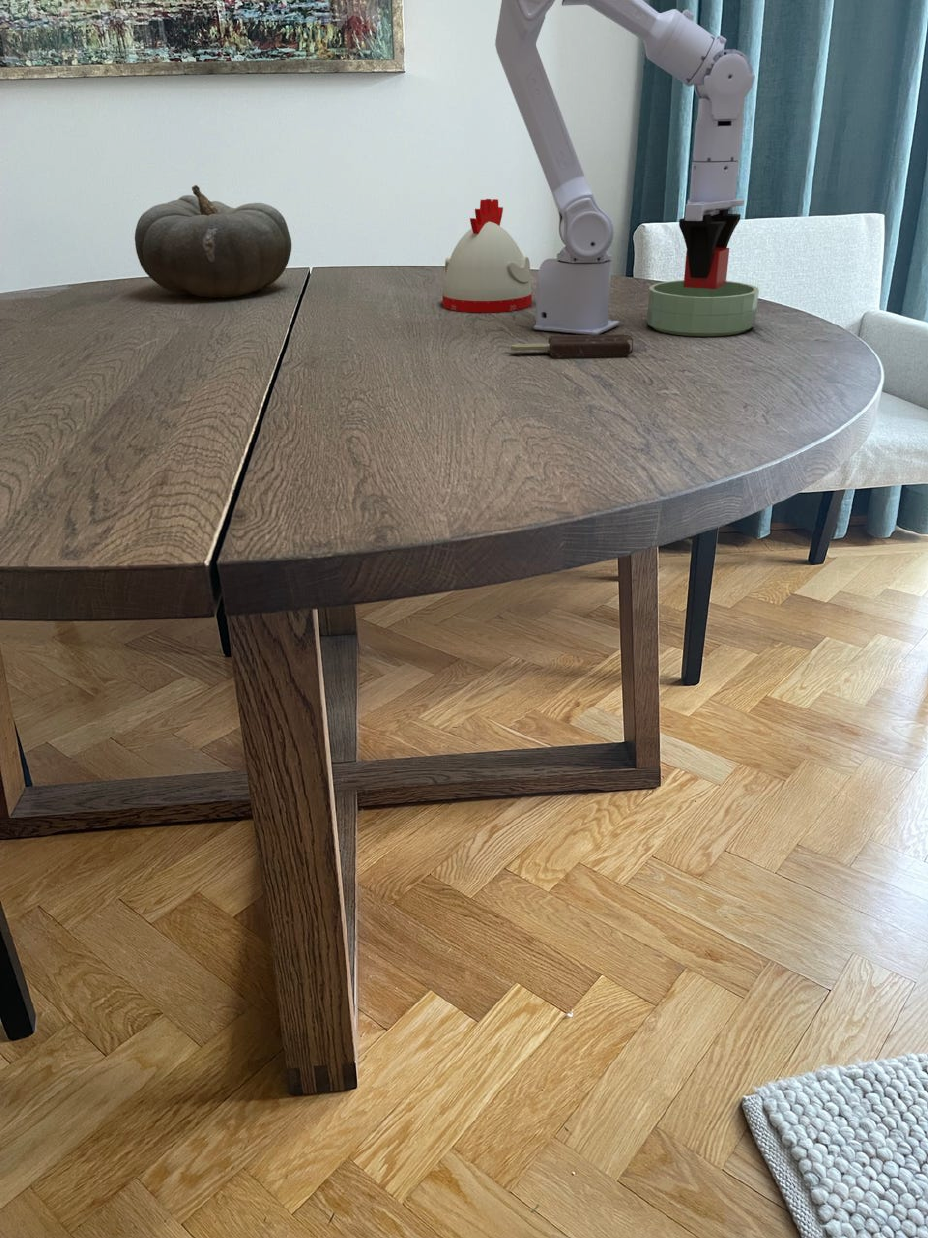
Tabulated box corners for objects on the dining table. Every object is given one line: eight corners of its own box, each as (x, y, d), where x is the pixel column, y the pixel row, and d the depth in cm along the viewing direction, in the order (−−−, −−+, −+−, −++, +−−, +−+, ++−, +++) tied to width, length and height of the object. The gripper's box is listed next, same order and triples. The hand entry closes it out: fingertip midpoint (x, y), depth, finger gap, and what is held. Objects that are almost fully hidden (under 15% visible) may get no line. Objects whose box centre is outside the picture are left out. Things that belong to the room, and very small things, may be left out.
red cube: (683, 287, 124) (686, 250, 121) (693, 282, 127) (697, 246, 125) (715, 289, 122) (719, 251, 119) (725, 284, 125) (729, 247, 123)
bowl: (631, 331, 125) (633, 292, 122) (667, 313, 135) (670, 277, 133) (736, 341, 118) (741, 300, 116) (765, 321, 129) (770, 283, 127)
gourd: (177, 264, 173) (172, 162, 163) (307, 287, 172) (310, 187, 162) (116, 302, 153) (106, 189, 143) (262, 329, 151) (263, 217, 141)
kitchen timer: (547, 300, 147) (549, 196, 140) (503, 315, 137) (503, 204, 129) (472, 294, 153) (471, 194, 146) (425, 307, 143) (421, 201, 136)
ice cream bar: (511, 359, 112) (636, 356, 112) (511, 345, 111) (636, 342, 111) (509, 349, 117) (629, 347, 117) (510, 336, 116) (630, 333, 116)
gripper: (730, 164, 110) (717, 284, 116) (763, 158, 121) (750, 268, 127) (672, 163, 113) (663, 281, 120) (709, 158, 124) (699, 266, 130)
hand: (704, 274), depth 124 cm, fingers closed on red cube, 4 cm apart
